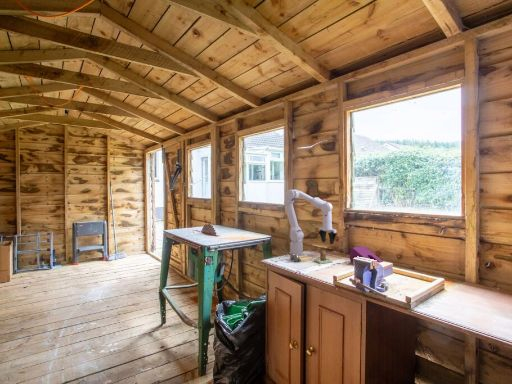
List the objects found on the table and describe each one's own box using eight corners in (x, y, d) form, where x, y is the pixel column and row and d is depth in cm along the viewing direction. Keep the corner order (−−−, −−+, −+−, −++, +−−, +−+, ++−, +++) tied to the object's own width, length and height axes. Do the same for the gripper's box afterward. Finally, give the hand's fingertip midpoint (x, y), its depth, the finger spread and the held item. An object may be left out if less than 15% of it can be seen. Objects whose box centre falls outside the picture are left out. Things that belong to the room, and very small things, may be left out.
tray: (314, 260, 180) (313, 258, 180) (325, 259, 183) (325, 257, 183) (320, 264, 173) (320, 261, 173) (332, 262, 175) (332, 260, 175)
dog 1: (289, 259, 185) (289, 253, 185) (294, 259, 186) (294, 252, 186) (291, 260, 182) (291, 254, 182) (296, 260, 183) (295, 253, 183)
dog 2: (292, 261, 180) (292, 254, 180) (297, 261, 181) (297, 254, 181) (294, 262, 177) (294, 256, 177) (299, 262, 178) (299, 255, 178)
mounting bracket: (382, 276, 165) (359, 257, 179) (387, 264, 161) (363, 245, 176) (370, 279, 160) (347, 259, 175) (375, 267, 157) (352, 247, 171)
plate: (294, 260, 186) (294, 256, 186) (306, 258, 188) (306, 255, 188) (300, 263, 178) (300, 259, 178) (312, 261, 181) (312, 257, 181)
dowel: (319, 260, 179) (319, 250, 179) (324, 260, 180) (323, 250, 180) (322, 261, 176) (321, 251, 176) (326, 261, 177) (326, 251, 177)
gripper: (314, 221, 192) (315, 241, 192) (330, 223, 179) (330, 245, 179) (323, 220, 195) (323, 240, 195) (338, 222, 182) (339, 244, 182)
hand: (327, 243), depth 187 cm, fingers open, 7 cm apart
